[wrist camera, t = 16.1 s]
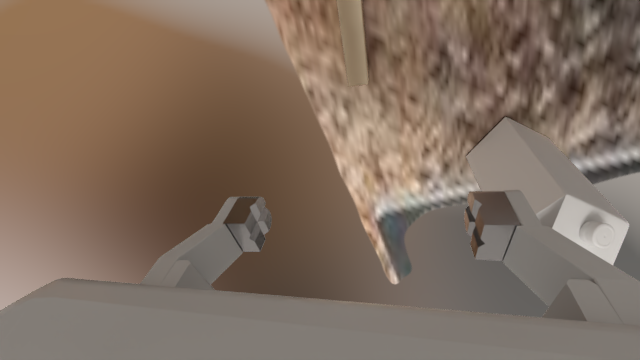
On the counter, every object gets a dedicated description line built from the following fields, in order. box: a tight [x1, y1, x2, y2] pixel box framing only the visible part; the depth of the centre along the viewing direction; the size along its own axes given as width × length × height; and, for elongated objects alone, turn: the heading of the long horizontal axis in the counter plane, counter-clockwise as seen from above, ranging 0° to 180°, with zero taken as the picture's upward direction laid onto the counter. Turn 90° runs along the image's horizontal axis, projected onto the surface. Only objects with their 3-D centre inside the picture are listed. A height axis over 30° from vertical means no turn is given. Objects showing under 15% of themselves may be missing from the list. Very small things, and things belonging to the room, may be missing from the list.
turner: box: [337, 0, 369, 87], centre depth 28 cm, size 6×17×3 cm, turn 12°
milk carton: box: [466, 117, 629, 265], centre depth 30 cm, size 7×7×19 cm
